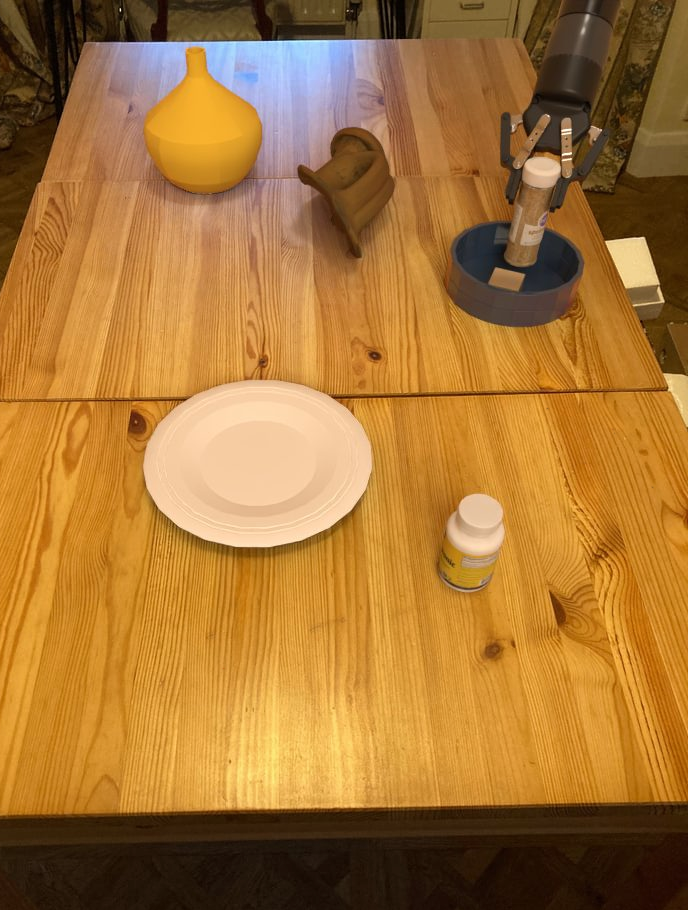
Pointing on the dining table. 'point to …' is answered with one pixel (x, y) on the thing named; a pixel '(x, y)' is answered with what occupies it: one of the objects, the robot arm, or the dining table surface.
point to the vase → (202, 132)
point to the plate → (257, 463)
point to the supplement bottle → (471, 543)
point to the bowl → (544, 281)
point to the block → (507, 280)
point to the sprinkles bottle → (531, 210)
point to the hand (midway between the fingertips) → (531, 206)
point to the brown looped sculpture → (353, 182)
